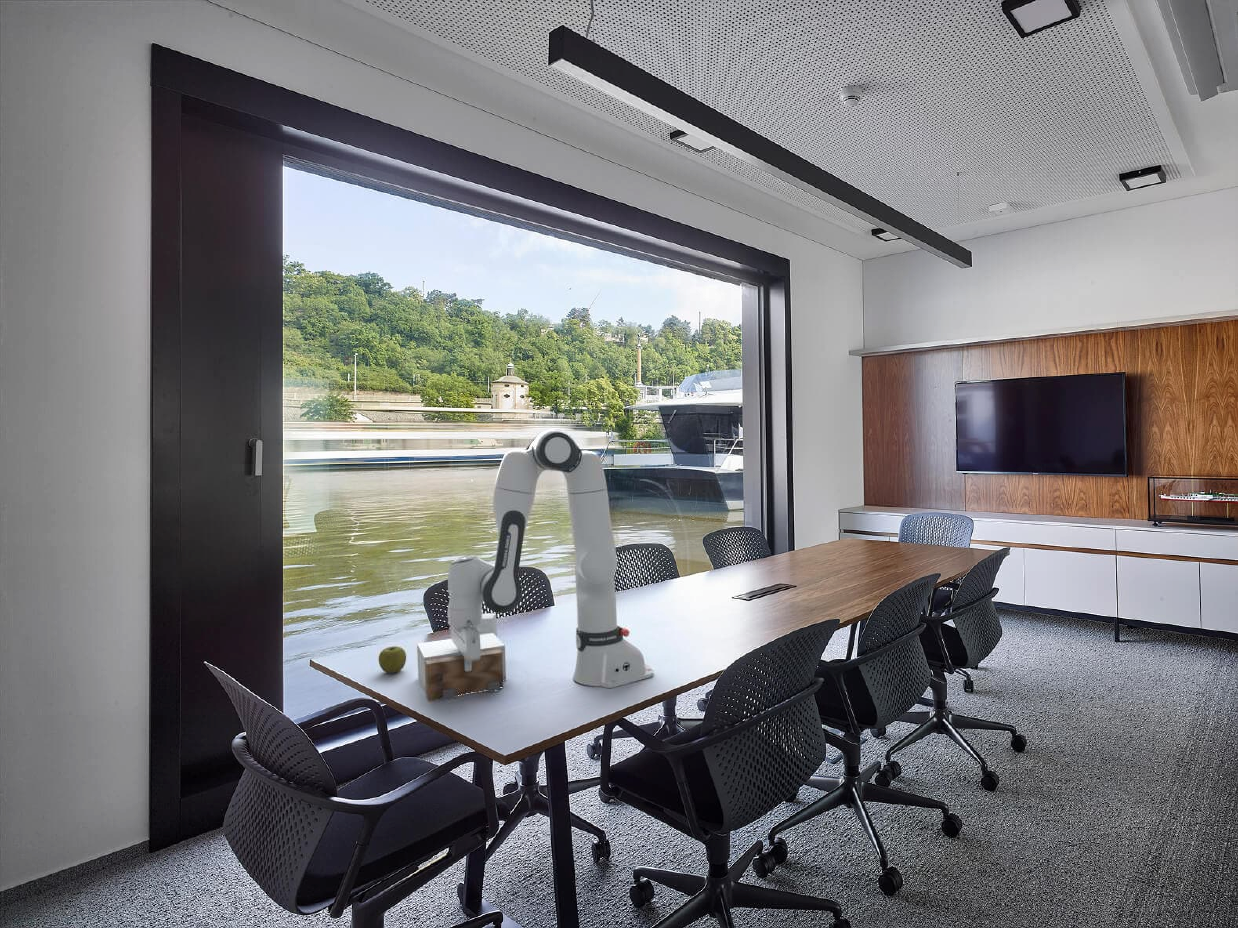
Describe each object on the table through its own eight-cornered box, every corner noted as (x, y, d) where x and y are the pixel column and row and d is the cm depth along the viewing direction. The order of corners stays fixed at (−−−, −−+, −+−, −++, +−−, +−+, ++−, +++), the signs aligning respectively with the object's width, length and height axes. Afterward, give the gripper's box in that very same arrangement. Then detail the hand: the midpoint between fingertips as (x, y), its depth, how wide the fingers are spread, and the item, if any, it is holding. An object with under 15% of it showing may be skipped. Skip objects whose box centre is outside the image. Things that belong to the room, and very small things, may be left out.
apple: (373, 675, 205) (372, 651, 205) (391, 666, 213) (390, 643, 213) (394, 678, 203) (393, 653, 202) (412, 669, 210) (411, 645, 210)
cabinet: (494, 666, 211) (492, 632, 210) (512, 688, 192) (511, 652, 191) (418, 678, 202) (417, 643, 202) (429, 702, 183) (428, 664, 183)
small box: (498, 653, 223) (496, 612, 222) (494, 660, 216) (492, 618, 216) (472, 654, 223) (470, 613, 222) (467, 660, 216) (466, 618, 216)
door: (500, 684, 195) (499, 649, 195) (504, 689, 192) (502, 653, 191) (426, 697, 187) (425, 660, 186) (428, 702, 184) (427, 665, 183)
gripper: (486, 625, 181) (487, 678, 181) (468, 607, 199) (469, 655, 200) (461, 627, 178) (462, 681, 179) (446, 609, 197) (446, 658, 197)
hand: (465, 667), depth 189 cm, fingers open, 3 cm apart
